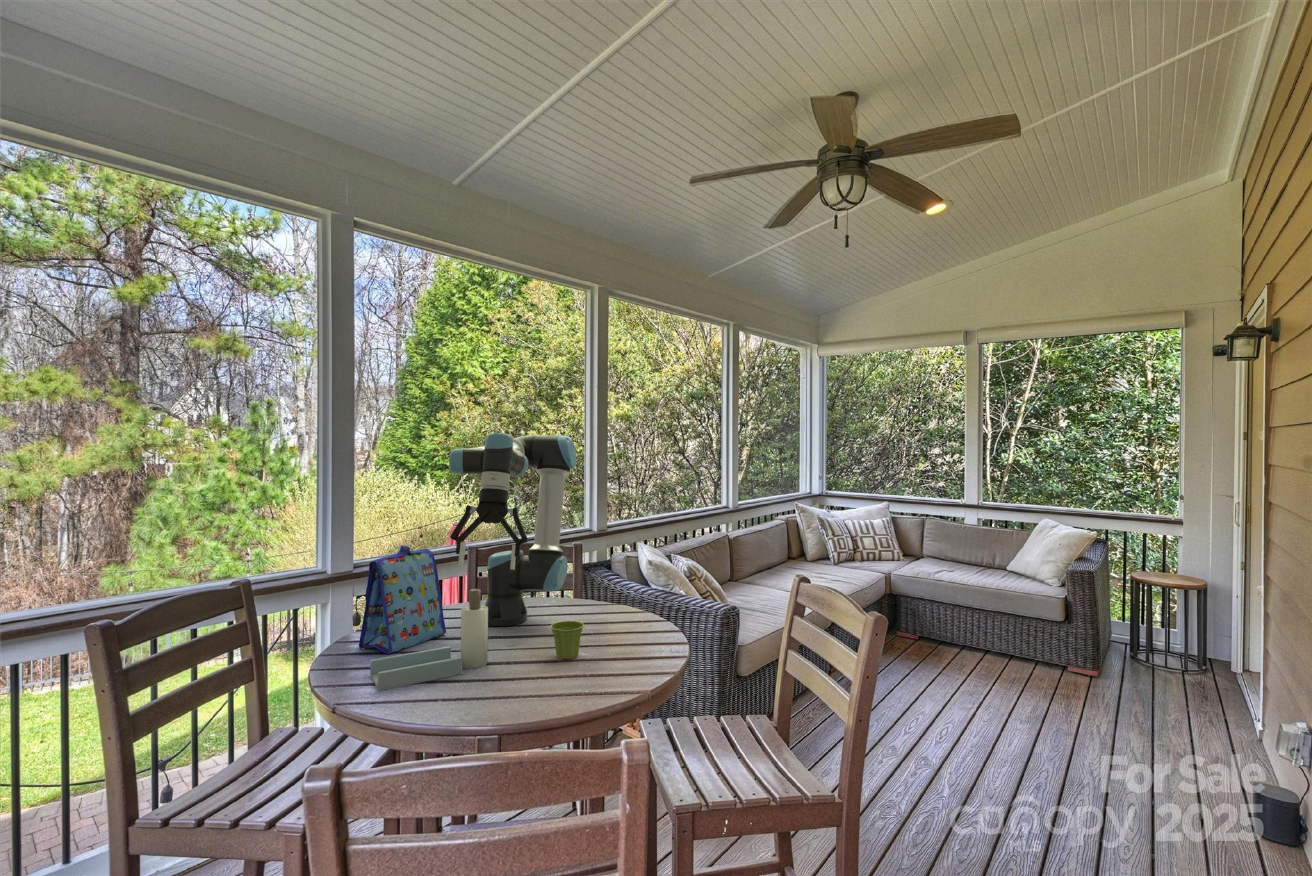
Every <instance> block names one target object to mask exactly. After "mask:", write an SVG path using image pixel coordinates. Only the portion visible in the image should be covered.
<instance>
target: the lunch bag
mask: <svg viewBox="0 0 1312 876" xmlns="http://www.w3.org/2000/svg"><path fill="white" fill-rule="evenodd" d="M438 572H439V571H438V567H437V562H436V558H435V556H434V553H433V552H432V550H430V549H428V548H422V549H416V550H411V548H410V547H409V546H408V545H404V544H403V545H401V546H400V547H399V551H398V552H397V553H395V554H391V555H387V556H382V557H380V558H377V559H374V560H371V561H370V562H369V565H368V578H367V585H366V589H365V606H364V613H363V617H362V624H361V630H360V636H359V641H358V647H359V649H362V648H365V649H370V648H371V649H372V648H373V649H374V648H375V649H377V650H379V651H380V652H382V653H384V654H385V655H387V654H388V655H390V654H392V653H395V652H398V651H402V650H405V649H407V648H410V647H413V646H415V645H419V644H422V643H424V642H426V641H427V642H428V641H429V640H432V639H435V638H436V637H440V636H442V635H445V634H447V627H446V623H445V617H444V610H443V602H442V596H441V590H440V589H441V588H440V582H439V574H438ZM404 648H405V649H404ZM401 649H402V650H401Z"/></svg>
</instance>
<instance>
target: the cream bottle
mask: <svg viewBox="0 0 1312 876" xmlns="http://www.w3.org/2000/svg"><path fill="white" fill-rule="evenodd" d="M481 593H482V591H481V589H480V588H471V589H469V591H468V594H469V595H468V596H469V597H468V605H467V606H463V607H462V608H461V609H460V610H461V612H460V617H461V618H460V657H461V658H462V669H463V668H464V669H478V668H482V667H485V666H486V665H487V664H488V650H489V649H488V640H489V639H488V638H489V637H488V636H489V634H488V630H489V629H488V628H489V625H488V607H487V606H485V605H482V604H481V603H482V602H481V600H482V599H481V597H482V596H481V595H482V594H481Z"/></svg>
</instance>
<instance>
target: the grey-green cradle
mask: <svg viewBox="0 0 1312 876" xmlns="http://www.w3.org/2000/svg"><path fill="white" fill-rule="evenodd" d="M451 655H452V647H451V646H449V645H448V646H444V647H437V648H432V649H425V650H421V651H413V652H409V653H404V654H403V653H402V654H397V655H391V656H386V657H379V658H374V659H370V667H369V668H370V670H369V671H370V676H369V677H370V679H371V680H372V682H373V681H374V682H373V684H374V683H375V684H374V685H375V687H376V689H377V690H378V691H379V692H381V691H384V690H389V689H394V688H399V687H403V686H404V687H405V686H409V685H414V684H418V683H424V682H428V681H429V682H430V681H433V680H439V679H443V678H444V679H445V678H449V677H453V676H458V675H462V674H463V667H462V658H461V656H458V657H452V656H451Z"/></svg>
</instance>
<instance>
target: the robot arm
mask: <svg viewBox="0 0 1312 876" xmlns="http://www.w3.org/2000/svg"><path fill="white" fill-rule="evenodd" d="M484 443H485V444H484V445H483V446H477V447H471V448H468V447H467V448H464V447H461V448H454V449H452V450H451V452H450V453H449V457H448V463H449V464H448V465H449V468H450V471H451V472H452V473H454V474H458V475H459V474H461V475H468V474H469V475H472V474H474V475H481V480H480V487H481V489H480V490H479V498H478V504H477V506H473V505H472V506H471V505H469V504H468V505H466V506H465V511H464V513H463V516H462V517H461V518H460V520H459V522H458V523H457V524H456V527H454V529H453V531H452V532H451V534H450V537H449V538H450V539H451V540H454V541H455V542H456V547H455V554H456V555H458V564H457V568H464V564H465V554H466V547H467V546H466V545H467V543H466V542H464V541H465V540H466V539H467V538H468V537H469V536H470V535H471V534H472V533H473V532H475V530H476V529H477V528H478V527H479V526H480V525H481V524H483V523H484V524H494V525H495V524H496V525H498V524H501V526H503V528H504V529H505V531H506V532H507V534H508V535H509V537H511V539H512V540H513V542H514V543H515V544H512V546H511V550H506V551H500V552H495V553H493V554H491V555H490V556H489V557H488V560H487V568H486V570H487V593H486V595H487V596H486V601H485V604H484V606H487V607H488V624H489V625H488V626H496V627H501V626H503V627H507V626H514V625H518V624H521V623H524V622H526V621H527V620H528V611H527V606H526V604H525V601H524V597H523V591H531V592H532V591H533V592H535V591H536V592H545V593H547V592H557V591H559V590H560V589H561V588H562V586H563V585H564V583H565V581H566V578H567V576H568V575H567V574H568V568H569V566H568V559H567V557H566V556H565V555H564V551H563V549H562V548H561V547H560V540H561V527H562V517H563V503H564V494H565V493H564V491H565V480H566V478H567V477H569V476H570V474H571V470H572V469H575V467H576V465H577V450H576V446H575V443H574V441H573V438H572V437H570V436H568V435H560V434H556V435H555V434H554V435H553V434H552V435H551V434H549V435H548V434H547V435H537V434H536V435H534V434H530V435H529V434H528V435H524V436H518V437H513V436H512V435H511V434H508V433H503V432H491V433H489V434H487V435H486V437H485V442H484ZM529 468H533V469H535V468H536V473H537V474H538V476H539V477H540V478H539V488H538V497H537V506H536V507H537V509H536V518H535V519H536V520H535V529H534V537H533V538H534V541H533V545H532V546H531V547H530V548H529V549H528V554H527V555H525V554H524V551H523V550H521V548H522V547H521V546H522V545H523V544H526V543H528V542H529V539H528V536H527V534H526V531H525V529H524V526H523V524H522V521H521V518H520V512H519V508H517V507H516V506H515V507H513V508H508V499H509V491H508V489H510V478H511V477H515V478H517V477H521V476H523V475H524V474H525V473H526V472H527V470H528V469H529ZM475 512H476V513H477V515H478V516H477V517H476V518H475V520H473V522H472V523H471V524H470V525H469V526H468V527H467V528H466V529H465V530H464V531H463V532H462V530H463V529H464V527H465V526H466V524H467V523H468V521H469V519H470V518H471V516H472V515H474V513H475ZM508 514H509V515H510V516H511V517H513V521H514V522H515V526H516V528H517V531H518V533H519V536H520V538H519V536H518V535H517V534H516V533H515V531H514V530H513V528H512V527H511V526H510V524H509V523H508V521H507V520H506V519H505V518H506V516H507V515H508ZM461 532H462V533H461Z"/></svg>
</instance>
